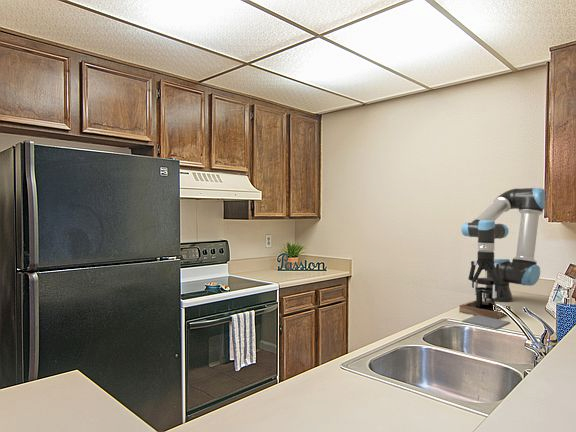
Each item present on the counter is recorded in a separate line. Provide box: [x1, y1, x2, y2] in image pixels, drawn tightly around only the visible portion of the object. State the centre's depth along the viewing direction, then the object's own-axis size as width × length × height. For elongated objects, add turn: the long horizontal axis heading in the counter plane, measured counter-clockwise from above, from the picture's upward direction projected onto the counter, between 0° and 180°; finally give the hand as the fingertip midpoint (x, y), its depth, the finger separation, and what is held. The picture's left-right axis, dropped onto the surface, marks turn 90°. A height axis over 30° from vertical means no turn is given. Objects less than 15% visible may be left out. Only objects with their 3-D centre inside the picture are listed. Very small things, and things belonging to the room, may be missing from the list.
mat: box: [461, 315, 511, 330], centre depth 189 cm, size 15×15×1 cm
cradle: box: [459, 299, 511, 319], centre depth 206 cm, size 17×17×4 cm
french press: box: [475, 268, 496, 311], centre depth 206 cm, size 12×9×23 cm
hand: (484, 296), depth 206 cm, fingers closed on french press, 9 cm apart
